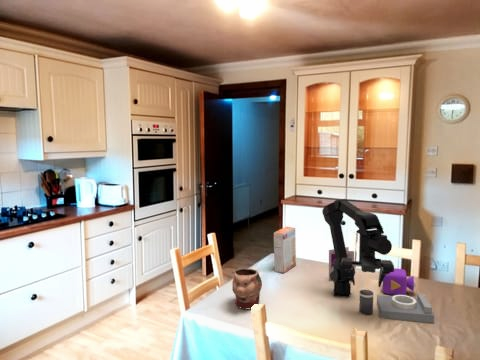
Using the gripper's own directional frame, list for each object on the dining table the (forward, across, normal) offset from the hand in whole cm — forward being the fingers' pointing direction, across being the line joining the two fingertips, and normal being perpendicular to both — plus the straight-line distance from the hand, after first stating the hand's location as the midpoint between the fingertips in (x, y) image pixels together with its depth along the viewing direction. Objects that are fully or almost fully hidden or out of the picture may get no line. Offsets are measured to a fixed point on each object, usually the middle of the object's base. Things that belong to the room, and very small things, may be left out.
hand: (366, 286), depth 140 cm
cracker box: (+11, -37, +41) cm, 56 cm away
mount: (+10, +14, +3) cm, 18 cm away
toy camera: (+11, +15, +22) cm, 29 cm away
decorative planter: (+11, -47, -2) cm, 48 cm away
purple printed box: (+11, -9, +32) cm, 35 cm away
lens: (+10, 0, 0) cm, 11 cm away
